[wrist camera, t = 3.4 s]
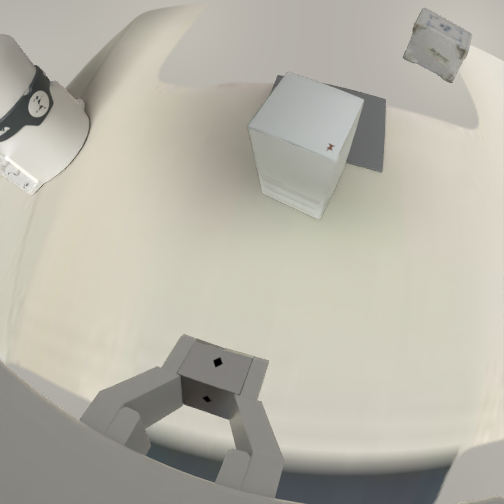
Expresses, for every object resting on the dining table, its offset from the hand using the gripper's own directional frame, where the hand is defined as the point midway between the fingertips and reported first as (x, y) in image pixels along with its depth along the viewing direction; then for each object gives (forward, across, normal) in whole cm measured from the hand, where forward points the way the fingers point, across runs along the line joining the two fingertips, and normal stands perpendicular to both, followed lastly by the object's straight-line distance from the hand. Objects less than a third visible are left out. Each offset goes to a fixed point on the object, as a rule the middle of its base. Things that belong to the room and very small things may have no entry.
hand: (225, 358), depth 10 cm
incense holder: (+50, -18, -21) cm, 57 cm away
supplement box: (+27, 0, +1) cm, 27 cm away
